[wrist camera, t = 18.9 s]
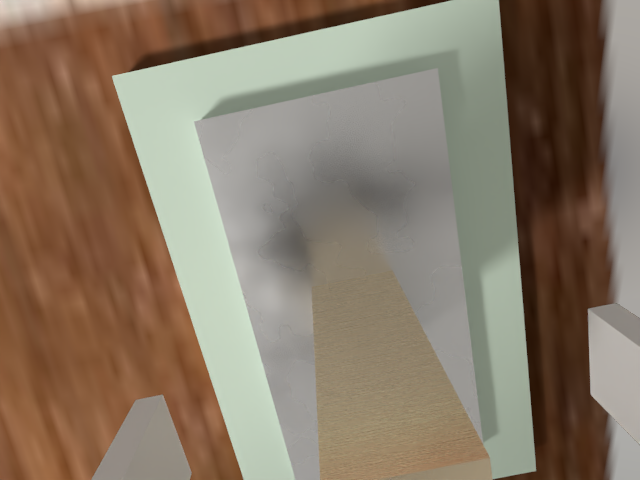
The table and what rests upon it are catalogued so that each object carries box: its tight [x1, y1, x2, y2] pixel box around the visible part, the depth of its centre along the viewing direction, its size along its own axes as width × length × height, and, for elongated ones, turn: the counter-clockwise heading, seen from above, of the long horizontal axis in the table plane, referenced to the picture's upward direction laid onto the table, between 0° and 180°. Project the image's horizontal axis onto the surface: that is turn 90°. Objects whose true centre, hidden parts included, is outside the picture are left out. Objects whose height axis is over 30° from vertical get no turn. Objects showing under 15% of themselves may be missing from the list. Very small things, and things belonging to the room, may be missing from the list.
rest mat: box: [112, 0, 536, 480], centre depth 18 cm, size 20×13×1 cm, turn 12°
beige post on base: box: [194, 68, 493, 480], centre depth 13 cm, size 16×8×10 cm, turn 12°
